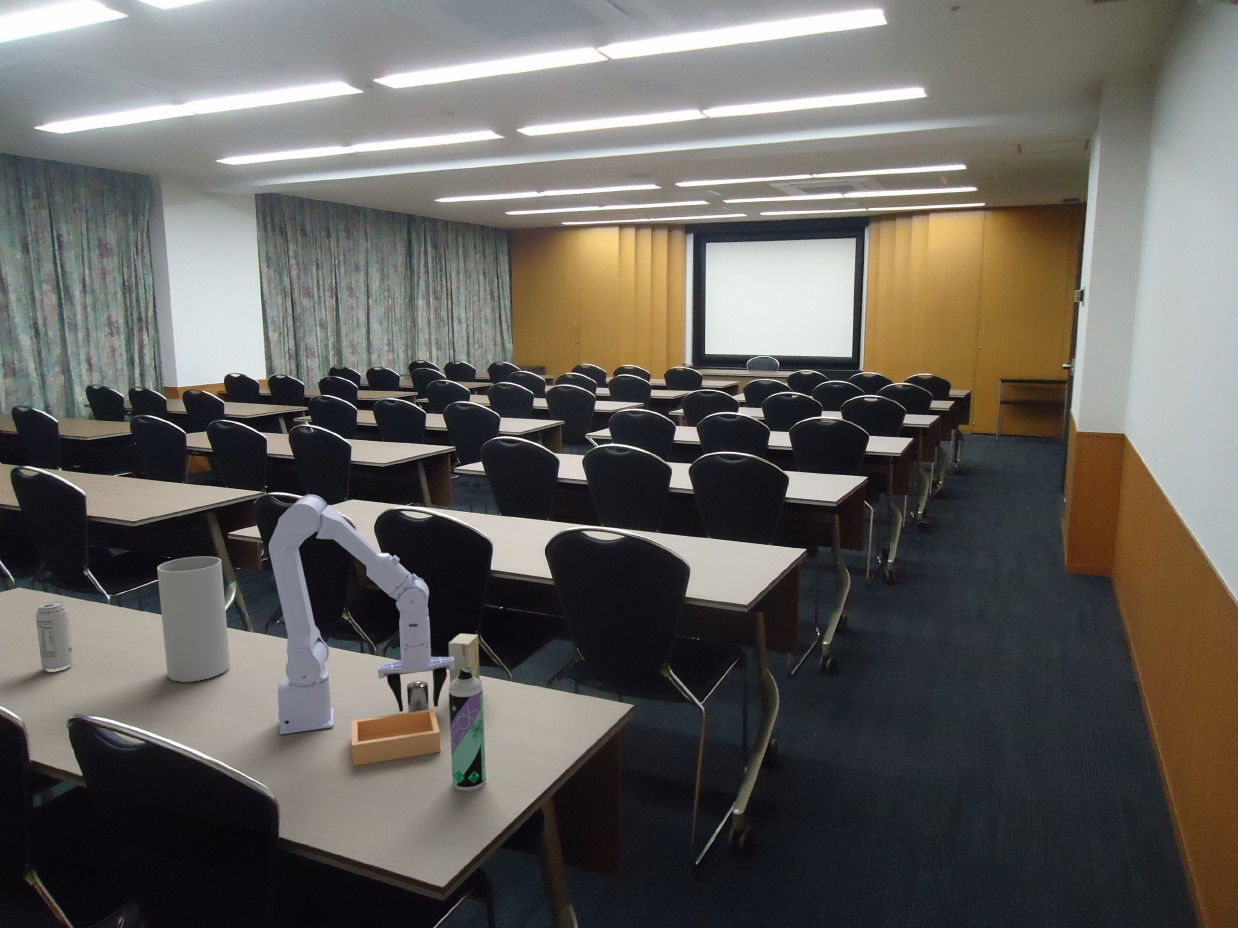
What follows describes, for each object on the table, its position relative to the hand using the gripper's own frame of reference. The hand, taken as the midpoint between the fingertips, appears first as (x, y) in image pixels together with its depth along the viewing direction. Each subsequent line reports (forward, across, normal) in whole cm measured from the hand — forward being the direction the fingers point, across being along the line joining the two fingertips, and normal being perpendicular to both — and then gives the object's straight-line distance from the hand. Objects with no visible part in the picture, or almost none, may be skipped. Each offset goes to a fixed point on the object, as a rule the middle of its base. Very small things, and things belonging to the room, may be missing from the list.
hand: (418, 706), depth 164 cm
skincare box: (+2, -10, -6) cm, 12 cm away
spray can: (+2, -6, +29) cm, 30 cm away
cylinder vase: (+2, +45, -37) cm, 58 cm away
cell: (+1, 0, 0) cm, 1 cm away
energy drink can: (+2, +76, -50) cm, 91 cm away
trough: (+1, +5, +12) cm, 13 cm away
